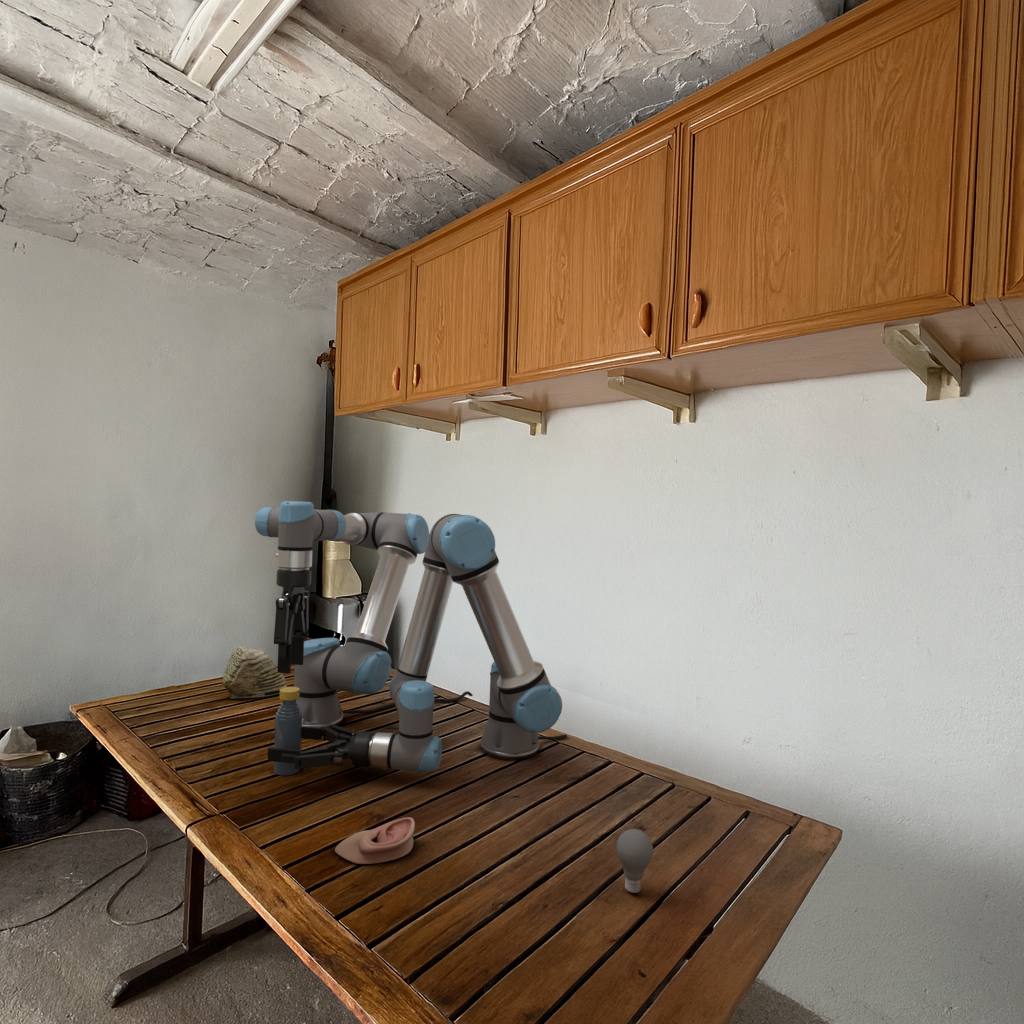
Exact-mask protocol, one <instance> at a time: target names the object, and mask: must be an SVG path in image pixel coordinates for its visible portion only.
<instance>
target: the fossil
mask: <svg viewBox="0 0 1024 1024" xmlns="http://www.w3.org/2000/svg"><path fill="white" fill-rule="evenodd" d="M277 670H278V667H277V665H276V663H275V662H274V660H273V659H272V658H271V657H270V656H269V655H268V654H267V653H266V652H265V650H264V649H263V648H260V647H258V648H251V647H247V646H246V647H245V646H238V647H237V648H236V649H235V650H233V651H232V653H231V656H230V657H229V659H228V660H227V663H226V666H225V668H224V671H223V675H222V676H223V677H222V685H223V687H224V688H225V690H226V691H228V693H229V698H230V699H250V698H264V697H271V696H275V695H280V689H281V688H284V687H288V686H287V680H286V678H285V676H284V674H283V673H277Z"/></svg>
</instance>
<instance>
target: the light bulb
mask: <svg viewBox="0 0 1024 1024" xmlns="http://www.w3.org/2000/svg"><path fill="white" fill-rule="evenodd" d="M615 849H616V854H617V857H618V859H619V861H620V863H621V865H622V867H623V873H624V874H623V875H624V876H625V878H624V888H625V890H627V891H628V892H630V893H634V894H635V893H639V892H640V891H641V889H642V887H641V886H642V879H643V877H644V875H645V871H646V868H647V867H648V866H649V864H650V863H651V861H652V859H653V855H654V847H653V843H652V841H651V838H649V836H648V835H647V834H646V833H645V832H643V831H642V830H641V829H636V828H629V829H627V830H625V831H623V832H622V833H621V834H620V835H619V837H618V839H617V841H616V847H615Z"/></svg>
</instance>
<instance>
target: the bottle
mask: <svg viewBox="0 0 1024 1024" xmlns="http://www.w3.org/2000/svg"><path fill="white" fill-rule="evenodd" d="M301 733H302V711H301V710H300V708H299V705H298V702H296V699H295V700H281V703H280V705H279V707H278V709H277V712H276V713H275V716H274V738H273V739H274V740H273V741H274V742H273V748H282V749H294V750H296V749H299V750H300V752H301V751H302V739H301ZM272 767H273V769H272V771H273V773H274V774H275V775H277V776H290V775H294V774H296V773H298V772H300V770H301V769H295V763H285V762H273V765H272Z"/></svg>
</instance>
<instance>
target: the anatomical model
mask: <svg viewBox="0 0 1024 1024" xmlns="http://www.w3.org/2000/svg"><path fill="white" fill-rule="evenodd" d="M415 828H416V823H415V820H414V818H413V817H410V816H409V817H402V818H398V819H395V820H392V821H389V822H386V823H384V824H382V825H380V826H377V827H375V828H372V829H368V830H361V831H358V832H356V833H353V834H352V835H350V836H348V837H346V838H345V839H343V840H342V841H340V843H338V844H337V845H336V846H335V848H334V852H335V853H336V854H337V855H338V856H340V857H341V858H343V859H344V860H347V861H348V862H351V863H353V864H357V865H369V864H370V865H371V864H380V863H385V862H390V861H394V860H398V859H400V858H402V857H404V856H407V855H408V854H409V853H410V852H411V851H412V849H413V847H414V837H413V835H414V833H415Z"/></svg>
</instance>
